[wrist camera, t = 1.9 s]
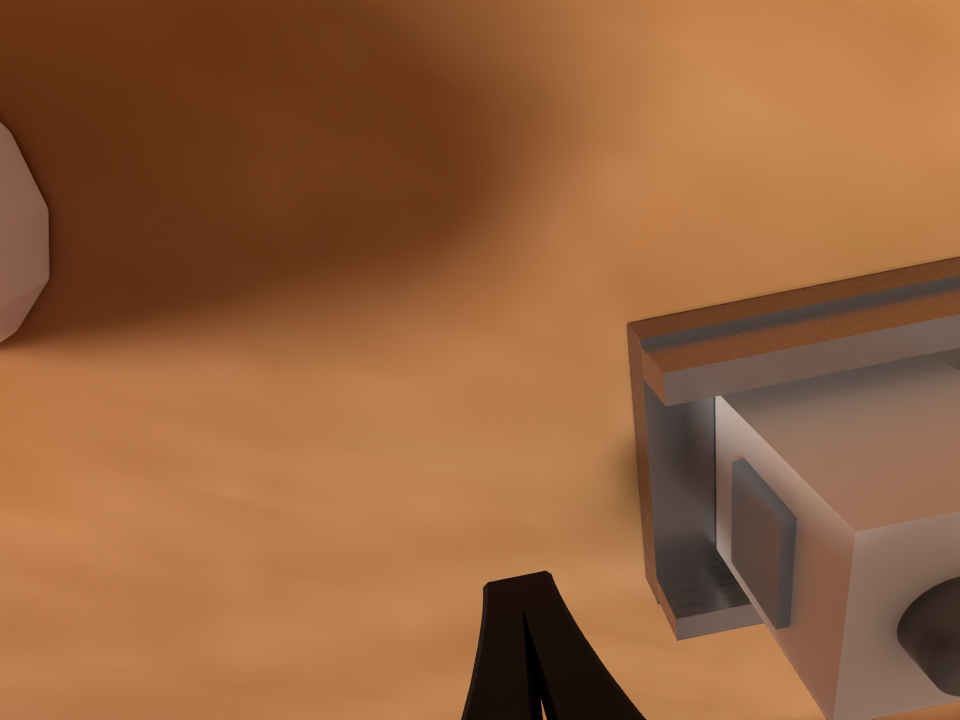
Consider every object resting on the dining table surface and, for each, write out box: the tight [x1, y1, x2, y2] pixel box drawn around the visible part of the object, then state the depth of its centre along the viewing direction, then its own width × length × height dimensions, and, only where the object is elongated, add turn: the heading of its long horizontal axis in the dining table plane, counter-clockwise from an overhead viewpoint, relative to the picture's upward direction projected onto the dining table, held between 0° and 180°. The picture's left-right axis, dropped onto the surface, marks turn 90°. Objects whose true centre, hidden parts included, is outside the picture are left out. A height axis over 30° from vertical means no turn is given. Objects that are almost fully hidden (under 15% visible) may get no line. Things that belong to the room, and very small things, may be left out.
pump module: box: [715, 354, 960, 720], centre depth 12 cm, size 5×5×6 cm
